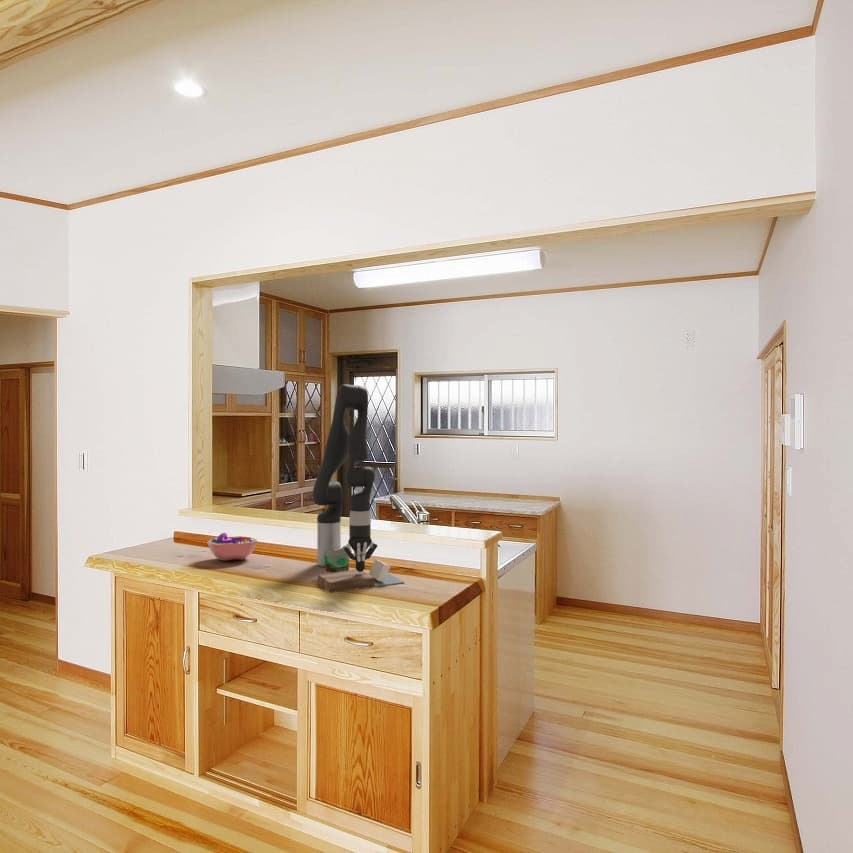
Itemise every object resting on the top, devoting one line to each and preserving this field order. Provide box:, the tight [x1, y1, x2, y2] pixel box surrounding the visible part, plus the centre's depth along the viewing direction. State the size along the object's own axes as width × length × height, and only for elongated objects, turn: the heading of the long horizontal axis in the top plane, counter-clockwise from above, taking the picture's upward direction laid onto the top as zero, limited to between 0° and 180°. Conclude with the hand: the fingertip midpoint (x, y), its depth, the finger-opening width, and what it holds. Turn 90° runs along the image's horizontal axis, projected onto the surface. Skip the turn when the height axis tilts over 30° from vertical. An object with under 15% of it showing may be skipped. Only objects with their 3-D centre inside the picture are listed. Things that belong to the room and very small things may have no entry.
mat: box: [374, 572, 405, 588], centre depth 227 cm, size 16×11×1 cm
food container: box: [323, 546, 353, 573], centre depth 235 cm, size 12×6×10 cm, turn 139°
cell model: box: [206, 532, 258, 562], centre depth 259 cm, size 17×20×11 cm
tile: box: [368, 559, 391, 582], centre depth 226 cm, size 9×6×2 cm
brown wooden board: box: [317, 569, 375, 593], centre depth 221 cm, size 14×16×3 cm
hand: (360, 571), depth 224 cm, fingers closed
